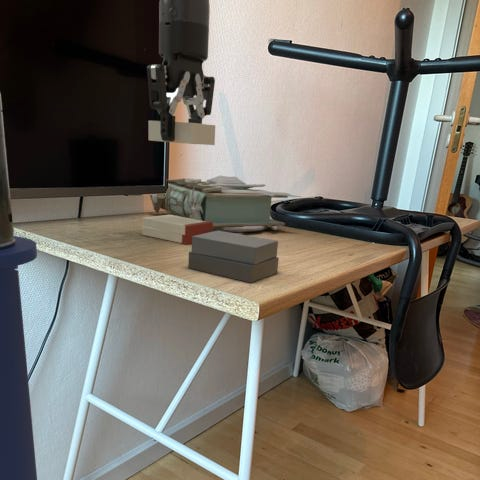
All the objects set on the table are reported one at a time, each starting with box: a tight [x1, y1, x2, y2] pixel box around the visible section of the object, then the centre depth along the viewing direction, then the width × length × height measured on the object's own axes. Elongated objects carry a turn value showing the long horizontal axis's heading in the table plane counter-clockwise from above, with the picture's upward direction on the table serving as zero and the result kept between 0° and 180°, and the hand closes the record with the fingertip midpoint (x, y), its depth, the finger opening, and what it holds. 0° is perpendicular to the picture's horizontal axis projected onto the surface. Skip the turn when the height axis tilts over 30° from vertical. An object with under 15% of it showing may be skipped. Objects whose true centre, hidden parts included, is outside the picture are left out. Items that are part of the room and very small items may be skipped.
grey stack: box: [187, 231, 280, 284], centre depth 65 cm, size 7×10×4 cm
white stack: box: [141, 214, 214, 245], centre depth 85 cm, size 7×10×3 cm
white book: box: [148, 120, 216, 146], centre depth 79 cm, size 6×9×3 cm, turn 57°
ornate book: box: [149, 175, 302, 233], centre depth 102 cm, size 23×10×30 cm
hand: (181, 141), depth 79 cm, fingers closed on white book, 6 cm apart
